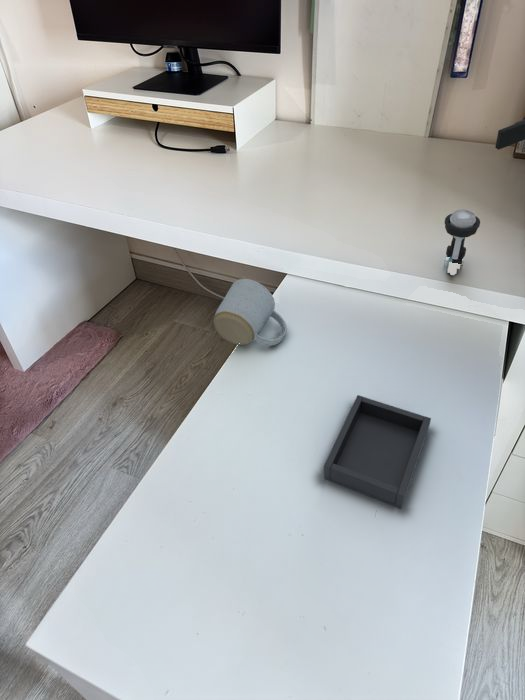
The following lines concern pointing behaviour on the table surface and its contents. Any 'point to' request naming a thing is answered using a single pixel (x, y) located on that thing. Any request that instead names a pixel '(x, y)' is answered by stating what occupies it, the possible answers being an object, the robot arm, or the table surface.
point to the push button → (460, 232)
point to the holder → (377, 450)
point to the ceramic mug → (247, 314)
